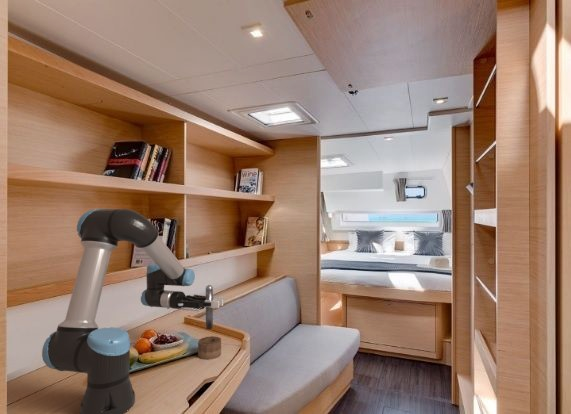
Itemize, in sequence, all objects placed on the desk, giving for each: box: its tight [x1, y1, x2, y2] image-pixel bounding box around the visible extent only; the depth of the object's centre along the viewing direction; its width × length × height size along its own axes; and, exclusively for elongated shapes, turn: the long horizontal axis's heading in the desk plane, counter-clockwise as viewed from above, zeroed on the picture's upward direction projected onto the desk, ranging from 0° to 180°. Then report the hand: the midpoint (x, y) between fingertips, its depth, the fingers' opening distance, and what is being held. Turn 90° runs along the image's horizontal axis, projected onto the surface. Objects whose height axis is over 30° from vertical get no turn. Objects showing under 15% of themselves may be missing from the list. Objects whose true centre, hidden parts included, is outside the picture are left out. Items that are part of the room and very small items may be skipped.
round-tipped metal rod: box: [205, 284, 214, 330], centre depth 140 cm, size 3×3×18 cm
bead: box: [197, 335, 222, 361], centre depth 139 cm, size 10×10×6 cm
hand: (220, 303), depth 138 cm, fingers closed on round-tipped metal rod, 3 cm apart
